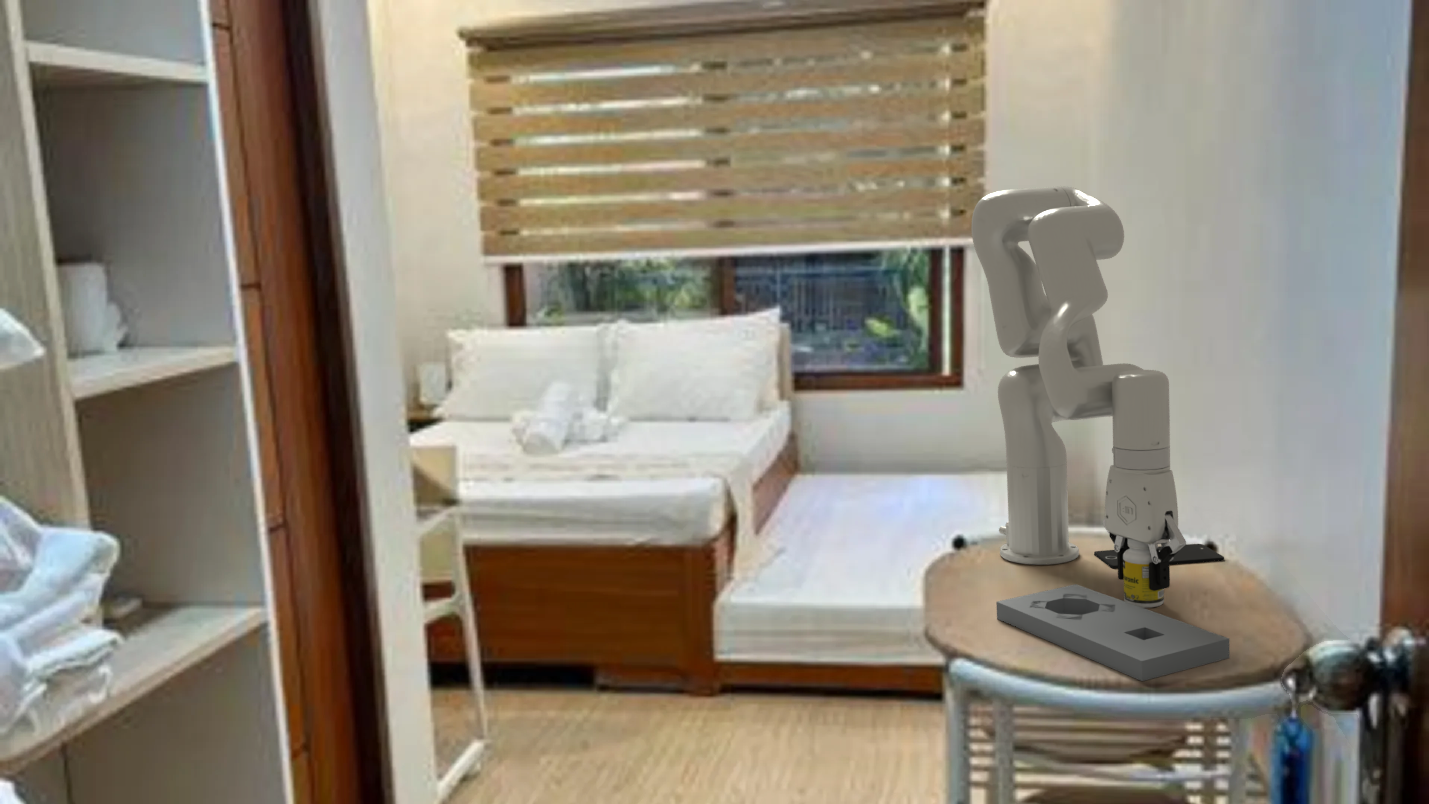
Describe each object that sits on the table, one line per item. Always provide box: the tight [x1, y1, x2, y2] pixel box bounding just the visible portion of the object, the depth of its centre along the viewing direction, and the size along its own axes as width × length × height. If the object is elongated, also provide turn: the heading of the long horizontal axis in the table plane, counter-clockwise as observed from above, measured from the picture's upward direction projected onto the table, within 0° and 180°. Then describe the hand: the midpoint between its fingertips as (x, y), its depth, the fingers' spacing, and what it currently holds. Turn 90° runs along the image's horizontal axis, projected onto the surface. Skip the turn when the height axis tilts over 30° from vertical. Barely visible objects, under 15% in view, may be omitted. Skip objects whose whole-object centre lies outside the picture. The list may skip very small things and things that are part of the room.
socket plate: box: [996, 584, 1230, 682], centre depth 158 cm, size 28×14×2 cm, turn 24°
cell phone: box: [1093, 543, 1225, 570], centre depth 193 cm, size 9×18×1 cm, turn 92°
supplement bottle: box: [1123, 539, 1165, 609], centre depth 170 cm, size 5×5×10 cm
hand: (1143, 582), depth 171 cm, fingers closed on supplement bottle, 5 cm apart
